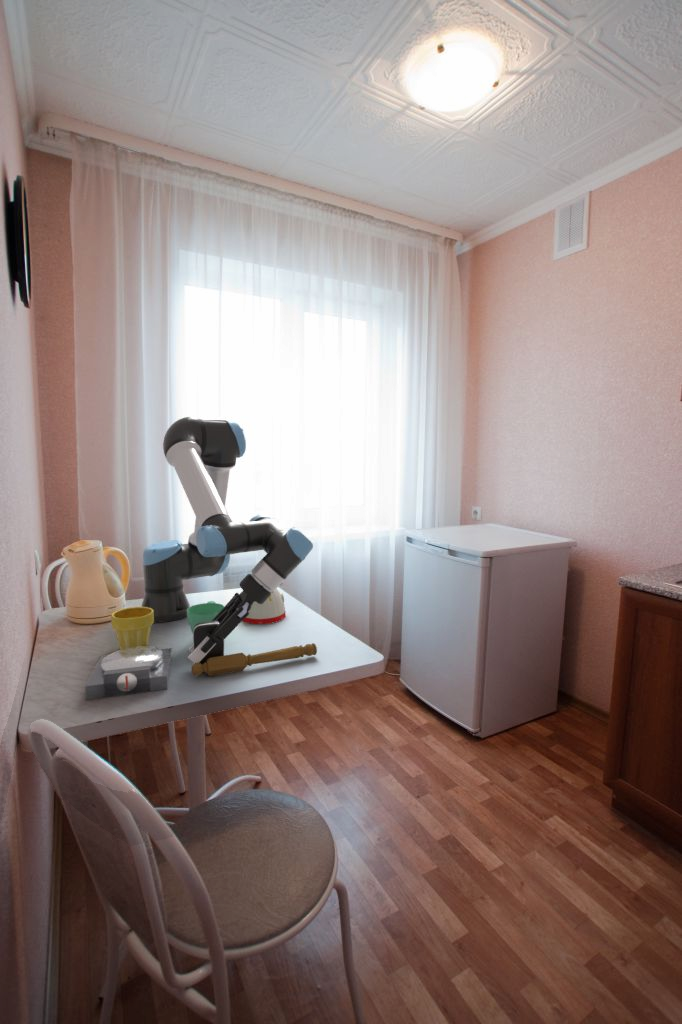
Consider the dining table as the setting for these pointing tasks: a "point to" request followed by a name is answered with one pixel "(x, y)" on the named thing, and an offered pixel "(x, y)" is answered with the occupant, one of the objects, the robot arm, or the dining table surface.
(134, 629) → the plant pot
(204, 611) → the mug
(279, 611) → the kitchen timer
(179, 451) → the robot arm
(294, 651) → the turned wooden baluster
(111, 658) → the scale
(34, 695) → the dining table surface
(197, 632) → the battery charger
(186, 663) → the dining table surface
